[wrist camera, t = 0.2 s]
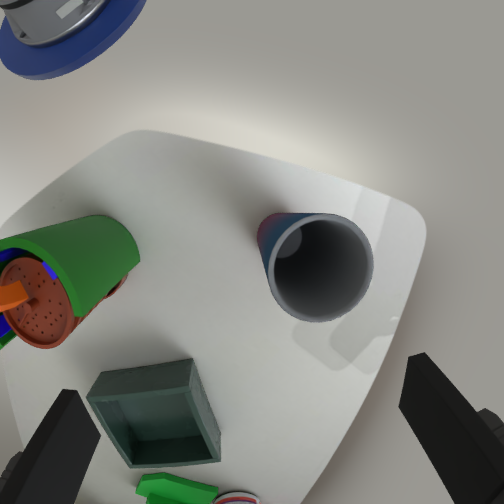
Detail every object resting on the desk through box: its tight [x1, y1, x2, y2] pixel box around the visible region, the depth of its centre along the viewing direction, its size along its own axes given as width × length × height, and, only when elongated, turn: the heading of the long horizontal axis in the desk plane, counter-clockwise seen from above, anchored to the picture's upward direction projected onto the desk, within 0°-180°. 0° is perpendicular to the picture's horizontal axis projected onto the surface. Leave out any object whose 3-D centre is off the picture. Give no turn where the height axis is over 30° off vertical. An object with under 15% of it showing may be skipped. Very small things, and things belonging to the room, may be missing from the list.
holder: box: [86, 359, 221, 468], centre depth 33 cm, size 13×13×6 cm
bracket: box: [135, 472, 218, 504], centre depth 36 cm, size 12×8×7 cm, turn 64°
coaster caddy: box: [0, 215, 140, 350], centre depth 22 cm, size 10×9×20 cm
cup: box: [257, 213, 373, 322], centre depth 26 cm, size 7×7×15 cm
